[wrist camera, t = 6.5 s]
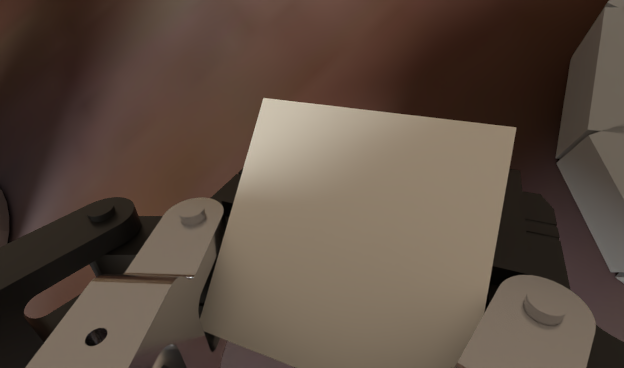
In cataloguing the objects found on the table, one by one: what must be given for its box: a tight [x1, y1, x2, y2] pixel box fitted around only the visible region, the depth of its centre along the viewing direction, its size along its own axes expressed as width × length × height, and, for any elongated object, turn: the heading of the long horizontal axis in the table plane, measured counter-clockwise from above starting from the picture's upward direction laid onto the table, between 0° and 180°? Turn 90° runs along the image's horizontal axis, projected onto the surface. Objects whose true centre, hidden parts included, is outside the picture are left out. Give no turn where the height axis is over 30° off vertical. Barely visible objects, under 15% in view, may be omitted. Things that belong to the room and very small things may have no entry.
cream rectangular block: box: [200, 98, 516, 368], centre depth 10 cm, size 5×5×9 cm
